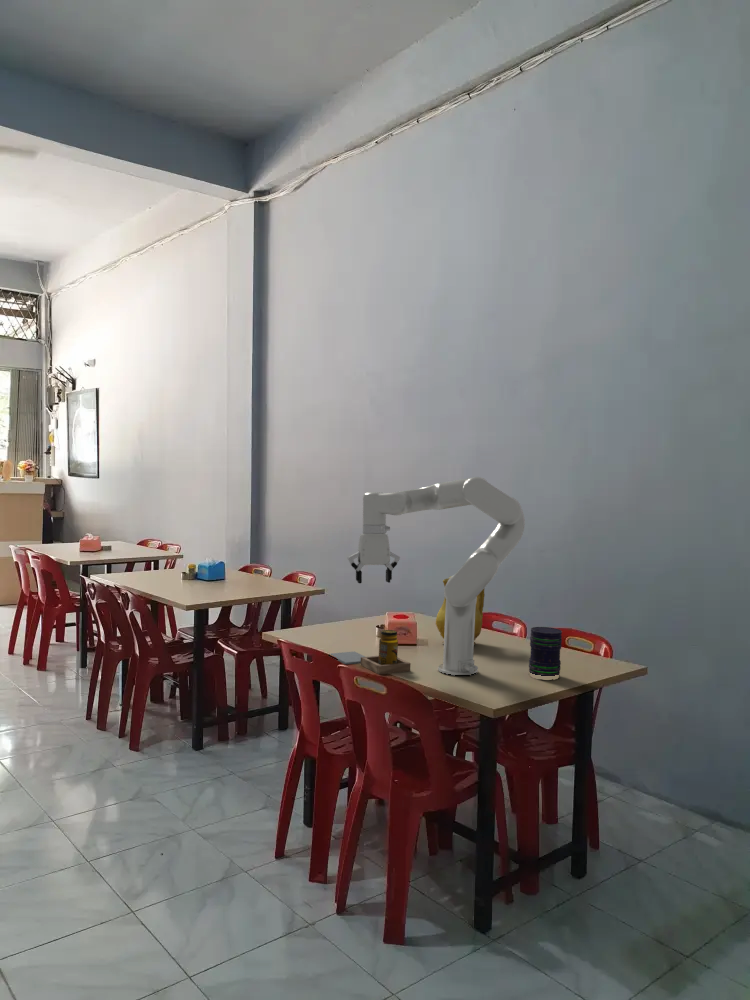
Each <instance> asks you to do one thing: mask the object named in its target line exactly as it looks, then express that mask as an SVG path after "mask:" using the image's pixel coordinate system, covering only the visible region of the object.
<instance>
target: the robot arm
mask: <svg viewBox="0 0 750 1000" xmlns="http://www.w3.org/2000/svg"><path fill="white" fill-rule="evenodd" d="M466 506H474V507H475V508H476V509H477V510H479V511H480V512H483V513H484V514H486V515H487V516H489V517H490V518H491V519H493V520H495V521H496V522H497V524H496V526H495V528H494V529H493V531H492V532H491V533H490V535H489V536H488V537H487V538H486V539H485V540H484V541H483V543H482V544H481V545H480V546H479V547H478V548H477V549H476V550H474V551H473V552H472V553H471V555H469V557H468V559H467V560H466V561H465V562H464V563H463V565H461V567H460V568H459V569H458V570H457V571H456V572H455V574H453V575H451V577H450V576H449V577H450V579H449V580H448V582H447V584H446V586H444V590H443V593H444V598H446V611H445V631H444V639H443V642H444V645H443V654H442V655H443V659H442V660H443V661H442V664H439V665H438V666H437V670H438V672H440V673H441V672H442V674H444V673H446V675H448V674H451V675H450V676H455V675H470V674H474V673H476V672H477V673H478V669H479V667H478V666H477V665H475V659H474V648H475V647H474V645H475V644H474V642H475V641H474V627H475V608H476V600H477V596H478V594H479V593H480V592H481V591H482V590H483V589H484V588H486V587H487V585H488V584H490V583H491V581H492V580H493V579H494V578H495V576H497V575H496V574H497V573H498V570H499V567H500V566H501V565H502V563H503V562H504V561H505V560H506V559H507V558H508V556H509V555H510V554H511V552H513V550H514V549H515V548H516V546H517V545H518V544H519V542H520V541H521V539H522V537H523V535H524V531H525V524H526V523H525V515H524V512H523V508H522V506H521V503H520V502H519V500H517V499H516V498H514V497H511V496H509V495H508V494H506V493H504V492H503V491H502V490H500V489H498V488H497V487H496V486H494V485H493V484H491V483H490V482H489V481H487V480H486V479H485V478H483V477H481V476H473V477H469V478H462V479H457V480H451V481H449V480H448V481H445V482H438V483H434V484H432V485H428V486H425V487H420V488H415V489H408V490H401V491H394V492H388V493H387V492H386V493H384V492H378V491H375V492H374V491H369V492H368V491H367V492H365V493H364V494H363V496H362V533H360V535H359V537H358V546H357V552H355V553H353V554H352V555H349V556H348V557H347V560H348V562H349V564H350V566H351V567H352V568H353V569H354V570H355V581H357V583H358V584H362V583H363V582H362V581H363V577H362V576H363V571H361V570H362V569H363V567H364V566H379V565H380V566H385V567H386V570H385V582H386V583H389V584H390V583H391V581H392V579H393V578H392V577H393V575H392V574H393V570H394V569H395V567H396V566H397V565H398V563H399V562H400V561H399V560H401V557H400V556H399V555H397V554H396V553H393V552H391V550H390V541H389V536H388V533H387V532H388V531H390V530H391V527H390V526H388V525H387V523H386V522H387V520H386V519H387V515H391V516H401V515H405V514H411V513H417V512H423V511H431V510H435V511H438V510H439V511H440V510H441V511H442V510H447V509H448V510H449V509H455V508H458V507H466ZM356 558H357V562H358V563H357V564H356V563H355V561H354V560H355V559H356ZM391 558H393V561H392V562H391ZM390 562H391V563H390ZM484 590H485V589H484ZM477 673H476V674H477ZM474 675H475V674H474ZM470 676H471V675H470Z"/></svg>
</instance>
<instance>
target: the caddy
mask: <svg viewBox="0 0 750 1000" xmlns="http://www.w3.org/2000/svg"><path fill="white" fill-rule="evenodd" d="M378 662H379V655H372V656H365V657H361V663H360V666H362V667H363V668H366V669H368V670H370V671H372V672H374V673H376V674H377V675H385V674H395V673H403V672H404V673H406V672H411V664H412V663H410V662H408V661H406V660H404V659H402V658H400V657H398V656H397V664H387V665H380V664H378Z"/></svg>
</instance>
